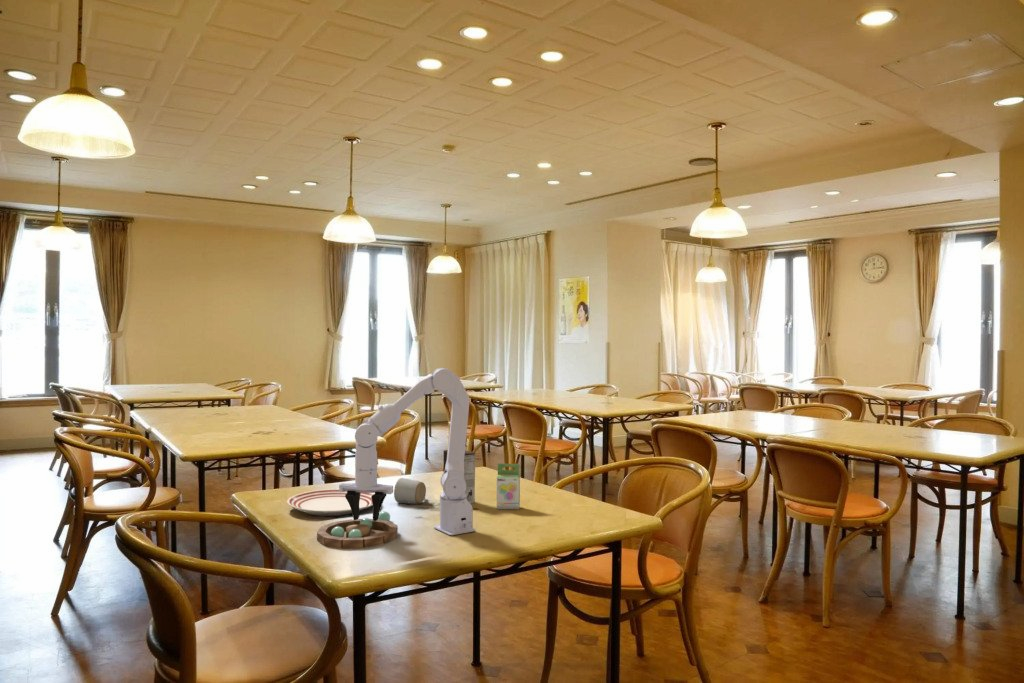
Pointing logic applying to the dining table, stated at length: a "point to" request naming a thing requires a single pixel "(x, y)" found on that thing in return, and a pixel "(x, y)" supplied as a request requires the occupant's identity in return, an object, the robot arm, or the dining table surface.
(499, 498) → the ink box
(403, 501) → the ceramic mug
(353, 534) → the seated bead
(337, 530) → the seated bead
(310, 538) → the dining table surface
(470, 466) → the coffee box
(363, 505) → the dinner plate
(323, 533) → the ring tray
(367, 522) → the bead
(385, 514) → the bead
